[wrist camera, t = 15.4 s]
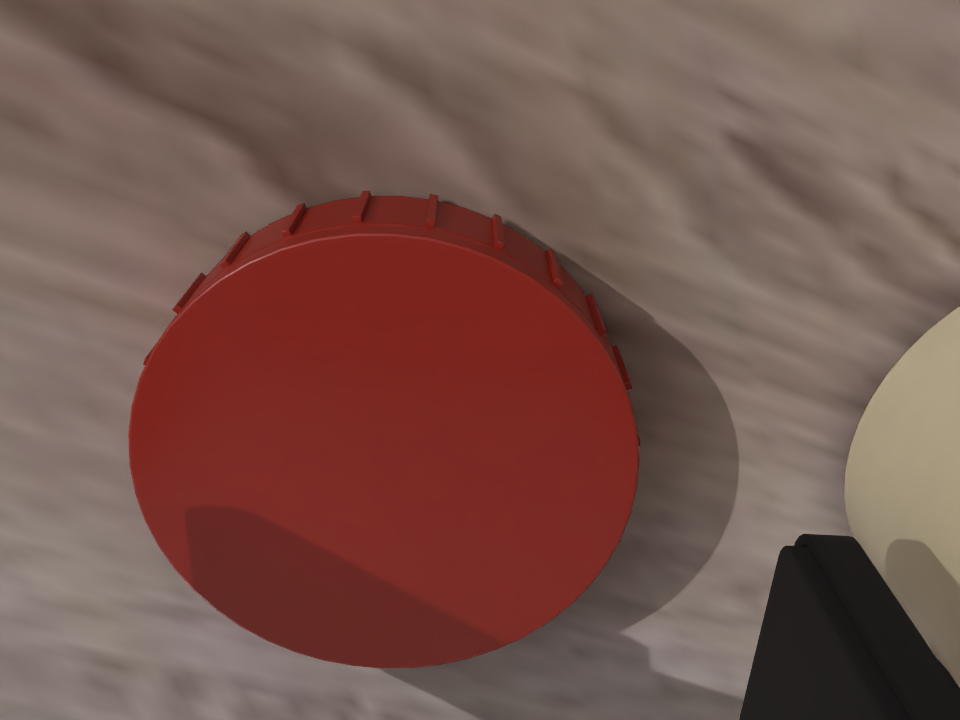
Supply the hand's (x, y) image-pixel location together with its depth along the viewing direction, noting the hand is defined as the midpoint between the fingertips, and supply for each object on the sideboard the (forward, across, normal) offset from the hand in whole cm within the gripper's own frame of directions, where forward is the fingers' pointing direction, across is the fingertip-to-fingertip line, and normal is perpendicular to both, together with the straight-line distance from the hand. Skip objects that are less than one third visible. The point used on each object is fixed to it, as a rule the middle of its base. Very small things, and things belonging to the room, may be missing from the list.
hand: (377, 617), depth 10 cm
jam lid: (+2, 0, -1) cm, 2 cm away
